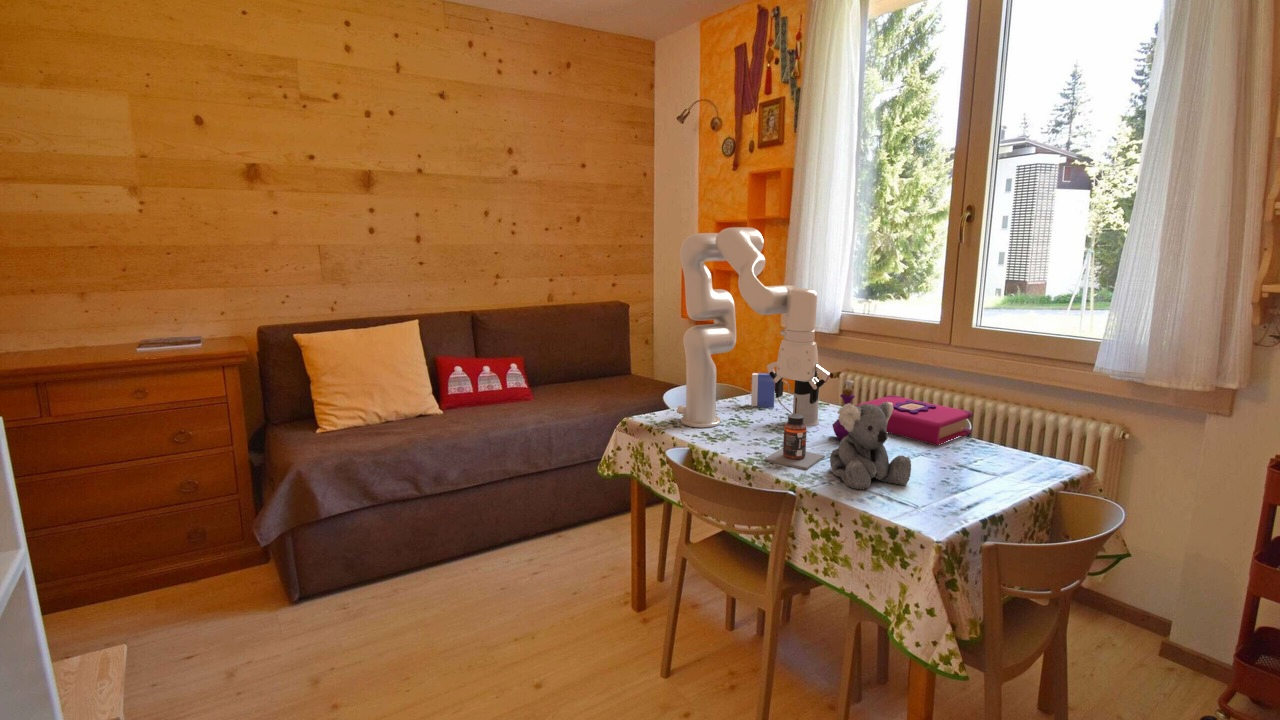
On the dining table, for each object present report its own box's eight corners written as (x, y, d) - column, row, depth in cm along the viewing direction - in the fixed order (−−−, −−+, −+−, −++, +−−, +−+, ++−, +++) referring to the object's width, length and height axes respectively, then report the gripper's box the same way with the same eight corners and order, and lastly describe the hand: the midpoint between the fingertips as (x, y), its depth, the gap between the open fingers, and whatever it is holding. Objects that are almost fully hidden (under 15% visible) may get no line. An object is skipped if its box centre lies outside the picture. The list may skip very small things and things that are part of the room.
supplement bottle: (805, 461, 177) (807, 419, 175) (783, 459, 178) (784, 418, 176) (805, 453, 182) (806, 413, 180) (782, 452, 184) (784, 412, 182)
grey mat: (764, 460, 179) (764, 458, 179) (783, 449, 188) (783, 447, 188) (807, 469, 172) (807, 467, 172) (824, 457, 181) (824, 455, 181)
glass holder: (822, 426, 210) (824, 380, 207) (776, 426, 210) (778, 380, 207) (815, 418, 218) (817, 374, 216) (772, 418, 219) (773, 374, 216)
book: (936, 448, 190) (938, 422, 189) (852, 425, 212) (853, 402, 210) (972, 434, 203) (975, 410, 201) (889, 414, 224) (891, 393, 223)
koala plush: (853, 493, 157) (858, 413, 153) (813, 468, 173) (816, 395, 170) (915, 485, 161) (921, 407, 158) (870, 461, 178) (875, 390, 175)
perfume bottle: (831, 434, 201) (834, 376, 198) (857, 436, 200) (861, 377, 196) (833, 442, 194) (836, 382, 191) (860, 444, 192) (864, 383, 189)
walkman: (773, 405, 235) (774, 372, 233) (773, 407, 233) (775, 374, 230) (750, 405, 236) (751, 372, 234) (751, 407, 233) (752, 373, 231)
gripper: (763, 334, 176) (759, 397, 180) (826, 342, 166) (821, 408, 169) (775, 330, 182) (772, 391, 185) (837, 338, 172) (832, 402, 175)
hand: (795, 399), depth 177 cm, fingers open, 9 cm apart
